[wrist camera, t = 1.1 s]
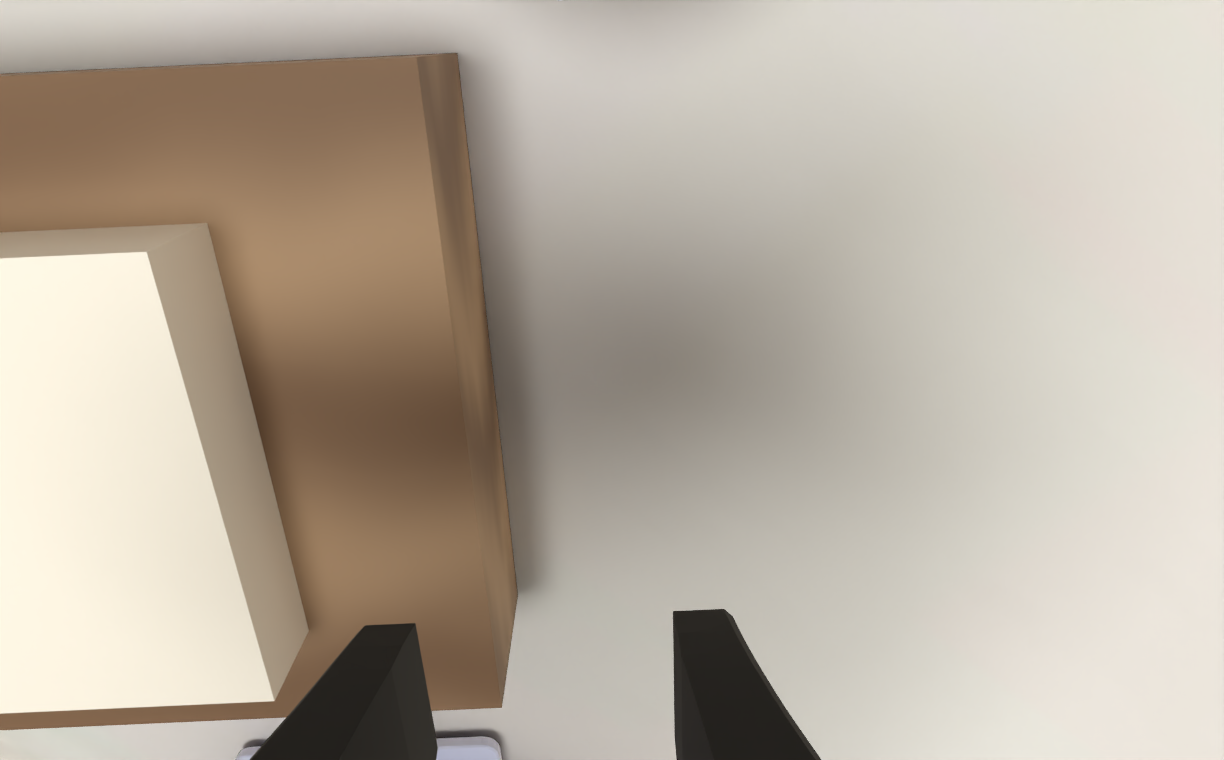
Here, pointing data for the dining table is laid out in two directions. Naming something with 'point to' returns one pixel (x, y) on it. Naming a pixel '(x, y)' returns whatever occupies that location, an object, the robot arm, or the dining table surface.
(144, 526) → the block
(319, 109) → the brown wooden slab
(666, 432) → the dining table surface
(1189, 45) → the dining table surface
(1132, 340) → the dining table surface
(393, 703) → the robot arm
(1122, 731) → the dining table surface
